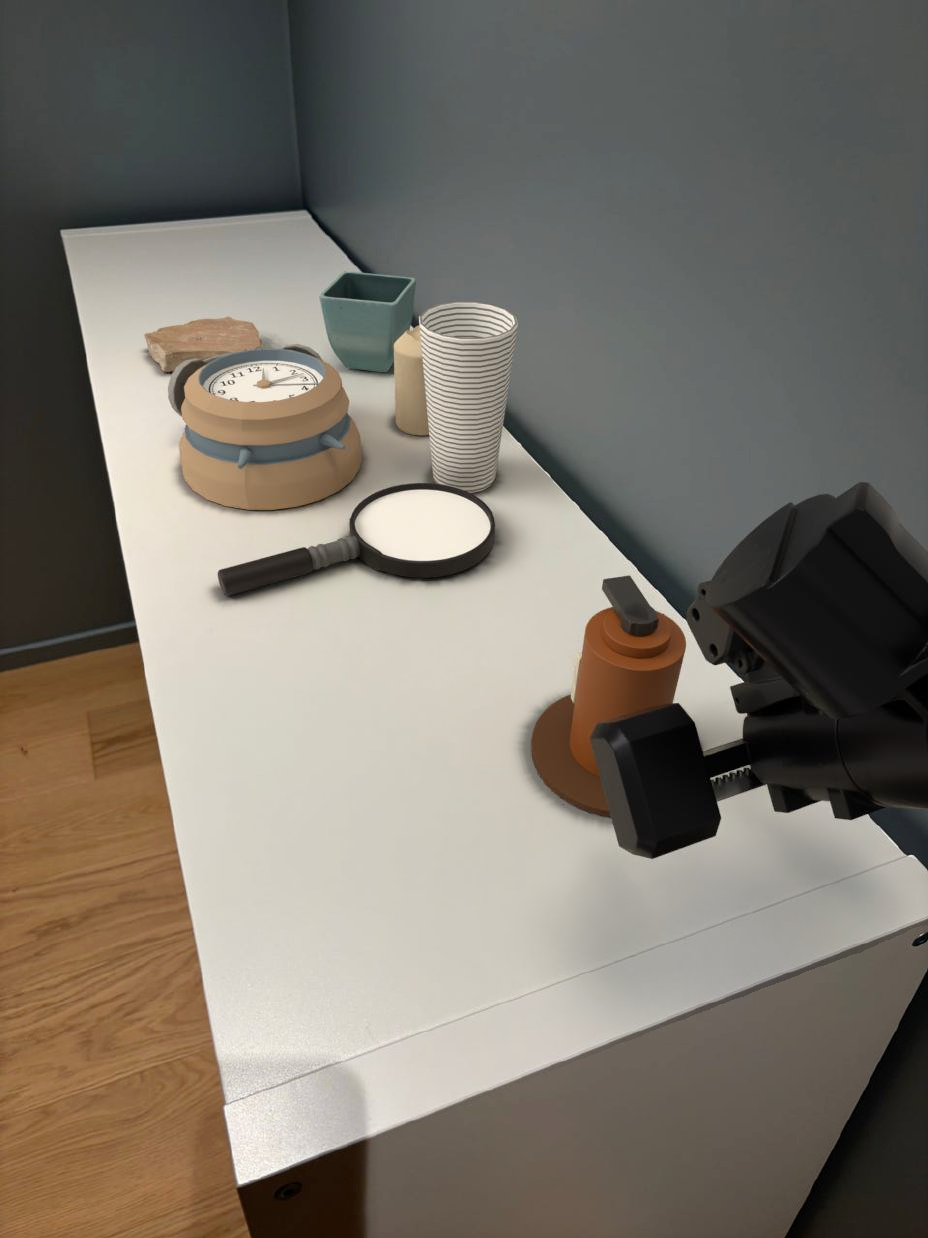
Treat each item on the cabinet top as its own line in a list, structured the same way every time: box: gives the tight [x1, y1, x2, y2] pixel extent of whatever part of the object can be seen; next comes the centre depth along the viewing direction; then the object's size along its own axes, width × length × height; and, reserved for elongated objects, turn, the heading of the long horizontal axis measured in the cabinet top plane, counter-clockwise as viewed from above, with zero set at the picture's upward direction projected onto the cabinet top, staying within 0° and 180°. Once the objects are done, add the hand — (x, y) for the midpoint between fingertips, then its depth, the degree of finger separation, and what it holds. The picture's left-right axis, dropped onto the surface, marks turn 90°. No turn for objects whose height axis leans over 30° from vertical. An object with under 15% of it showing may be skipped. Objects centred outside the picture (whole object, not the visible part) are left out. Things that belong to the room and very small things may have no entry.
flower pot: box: [318, 271, 417, 373], centre depth 105 cm, size 9×9×9 cm
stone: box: [143, 316, 263, 372], centre depth 107 cm, size 13×12×3 cm
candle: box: [393, 324, 429, 436], centre depth 93 cm, size 6×6×10 cm
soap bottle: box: [570, 575, 687, 777], centre depth 58 cm, size 7×6×11 cm
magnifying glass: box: [217, 482, 496, 597], centre depth 77 cm, size 12×24×2 cm, turn 119°
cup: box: [418, 301, 519, 494], centre depth 83 cm, size 8×8×16 cm
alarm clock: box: [167, 343, 362, 511], centre depth 89 cm, size 17×9×23 cm
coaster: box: [530, 694, 611, 818], centre depth 61 cm, size 11×11×1 cm
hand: (692, 737), depth 52 cm, fingers open, 9 cm apart
